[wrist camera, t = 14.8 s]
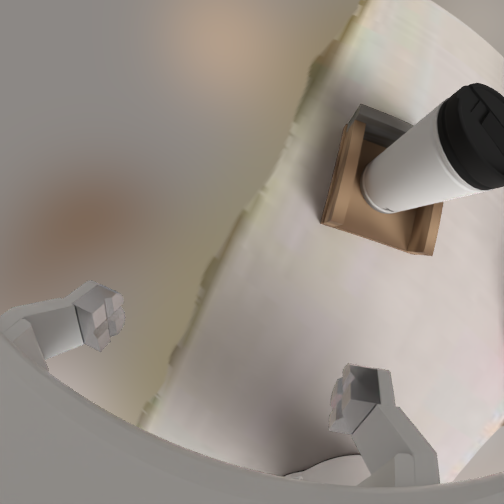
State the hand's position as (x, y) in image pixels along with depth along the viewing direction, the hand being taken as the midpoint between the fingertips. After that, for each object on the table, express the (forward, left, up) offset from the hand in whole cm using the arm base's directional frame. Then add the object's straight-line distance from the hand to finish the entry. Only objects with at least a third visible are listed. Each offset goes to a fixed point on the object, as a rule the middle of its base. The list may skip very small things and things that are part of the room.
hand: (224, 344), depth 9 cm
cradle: (+13, -11, -22) cm, 28 cm away
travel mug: (+13, -11, -21) cm, 28 cm away
